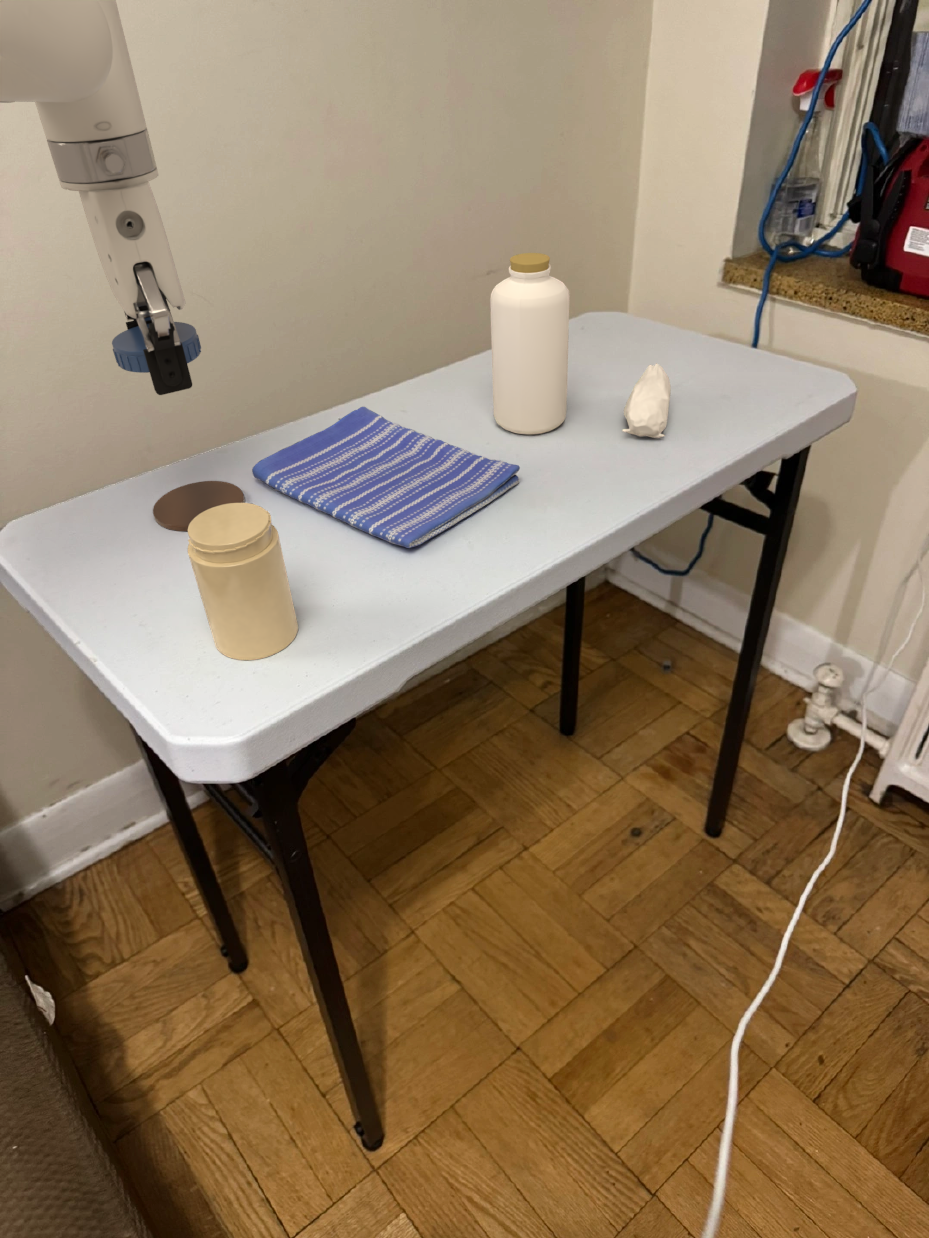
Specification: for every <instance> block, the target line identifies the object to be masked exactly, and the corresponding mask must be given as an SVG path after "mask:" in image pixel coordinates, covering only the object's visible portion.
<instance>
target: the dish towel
mask: <svg viewBox="0 0 929 1238" xmlns="http://www.w3.org/2000/svg"><path fill="white" fill-rule="evenodd" d="M520 470H521V467H520V465H519V464H513V463H509V462H508V461H504V460H500V459H499V460H498V459H497V460H496V459H489V458H488V457H486V456H483V455H478V454H475V453H473V452H470V451H468V450H467V449H465V448H462V447H459V446H455V445H452V444H449V442H446V441H443V440H442V439H438V438H436V439H435V438H433V437H432V436H430V435H426V434H424V433H422V432H417V431H416V430H414V429H412V428H407V427H405V426H401V425H400V424H399V423H395V422H392V421H391V420H388V419H386V418H385V417H383V415H380V414H378V413H377V412H375V411H372V410H370V409H369V408H368V407H367V406H360V407H359V408H357V409H355V410H352V411H350V412H349V413H348V414H346V415H344V416H343V417H342V418H340V419H339V420H338V421H336V422H335V423H333V424H332V425H330V426H328V427H327V428H324V429H323V430H321V431H317V432H316V433H314V434H311V435H309V436H308V437H305V438H303V439H301V440H299V441H297V442H294V443H293V444H291V445H289V446H287V447H285V448H282V449H279V450H278V451H276V452H274V453H271V454H270V455H268V456H266V457H264V458H263V459H260V460H259V461H258V462H257V463H255V465H253V467H252V469H251V473H252V475H253V477H254V478H255V479H257V480H259V481H262V482H263V483H265V484H266V485H267V486H269V487H272V488H273V489H275V490H276V491H277V492H280V493H282V494H284V495H286V496H288V497H290V498H291V499H294V500H297V501H298V502H299V503H302V504H306V505H308V506H309V507H312V508H314V509H316V510H317V511H319V512H322V513H325V514H327V515H330V516H331V517H333V518H334V519H337V520H339V521H341V522H344V523H346V524H348V525H349V526H351V527H353V528H355V529H358V530H360V531H362V532H365V533H367V534H369V535H370V536H373V537H376V538H379V539H380V540H382V541H386V542H388V543H390V544H394V545H397V546H400V547H403V548H405V549H406V548H407V549H410V548H415V547H418V546H420V545H422V544H424V543H425V542H427V541H428V540H430V539H433V538H434V537H435V536H437V535H439V534H441V533H443V532H445V531H446V530H448V529H449V528H451V527H453V526H454V525H456V524H458V523H459V522H460V521H462V520H464V519H466V518H467V517H469V516H470V515H472V514H473V513H475V512H477V511H478V510H480V509H482V508H483V507H485V506H486V505H488V504H490V503H491V502H492V501H494V500H495V499H497V498H498V497H500V496H501V495H503V494H504V493H506V492H507V491H508V490H510V489H512V488H513V487H515V486H516V485H518V484H519V483H520V478H519V476H518V475H517V474H518V472H519V471H520Z"/></svg>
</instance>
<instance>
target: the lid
mask: <svg viewBox="0 0 929 1238" xmlns="http://www.w3.org/2000/svg"><path fill="white" fill-rule="evenodd" d="M150 324H151V323H150ZM174 324H175V327H176V330H177V333H178V336H179V339H180V342H181V343H182V346H183V349H184V353H185V357H186V361H187V364H189V363H191V362H193V361H194V360H196V359H197V358H198V357H200V354H201V353H202V350H201V349H202V346H201V342H200V341H201V340H200V336H199V334H197V329H196V327H195V326H193V325H192V324H190V323H187V322H181V321H174ZM146 325H147V328H149V324H146ZM111 345H112V352H113V355H114V359H115V361H116V363H117V366H118V367H119V368H120V369H122V370H123V371H126V372H131V373H140V374H141V373H142V374H144V373H145V374H146V373H149V374H150V372H149V368H148V365H147V362H146V358H145V355H144V351H143V350H144V349H147V348H146V346H145V343H144V340H143V337H142V334H141V331H140V328H139V326H137V327H134V328H131V329H125V330H124V331H122V332H120V333H118V334H117V335H116V336H114V338H113V339H112V341H111Z"/></svg>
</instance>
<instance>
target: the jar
mask: <svg viewBox="0 0 929 1238" xmlns="http://www.w3.org/2000/svg"><path fill="white" fill-rule="evenodd" d="M271 515H272V514H271V513H270V512H269V511H268V510H266V509H265V508H264V507H262V506H260V505H257V504H255V503H249V502H244V503H229V504H223V505H219V506H216V507H213V508H210V509H208V510H206V511H204V512H202V513H200V514H199V515H197V516H196V517H195V518H194V519H193V520H192V521H191V522H190V524H189V526H188V531H187V535H188V539H187V541H188V545H187V555H188V558H189V563H190V566H191V569H192V572H193V576H194V578H195V582H196V585H197V589H198V593H199V595H200V599H201V602H202V606H203V609H204V612H205V616H206V619H207V623H208V625H209V629H210V633H211V636H212V640H213V642H214V646H215V648H216V649H217V650H218V652H219V653H220V654H221V655H223V656H225V657H227V658H230V659H232V660H237V661H256V660H261V659H265V658H268V657H271V656H273V655H276V654H278V653H280V652H281V651H283V650H284V649H286V648H287V647H288V646H290V645H291V644H292V643H293V641H294V640H295V638H296V637H297V635H298V631H299V624H298V618H297V614H296V610H295V609H296V608H295V606H294V605H295V604H294V600H293V597H292V591H291V586H290V582H289V577H288V573H287V567H286V564H285V563H286V561H285V558H284V554H283V549H282V544H281V539H280V535H279V534H280V533H279V531H278V529H277V528H276V527H275V525H273V522H272V516H271Z"/></svg>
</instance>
